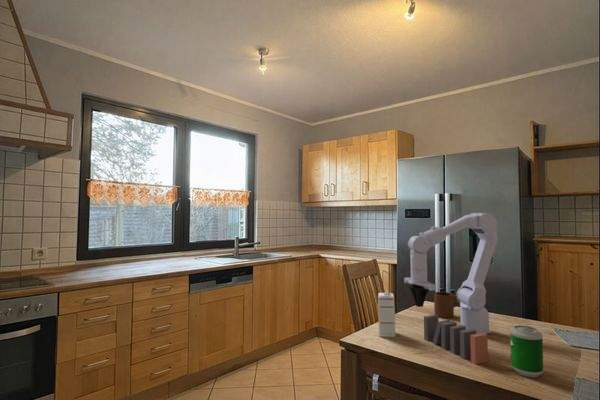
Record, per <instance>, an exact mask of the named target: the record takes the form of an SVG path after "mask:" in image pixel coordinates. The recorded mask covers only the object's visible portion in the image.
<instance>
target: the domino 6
mask: <svg viewBox="0 0 600 400" xmlns="http://www.w3.org/2000/svg"><path fill="white" fill-rule="evenodd" d="M488 342H489V341H488V333H487V334H484V333H479V334H474V335H470V343H471V358H470V363H471V364H473V365H479V364H484V363H488V362H489V356H488V355H489V348H488Z"/></svg>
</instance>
